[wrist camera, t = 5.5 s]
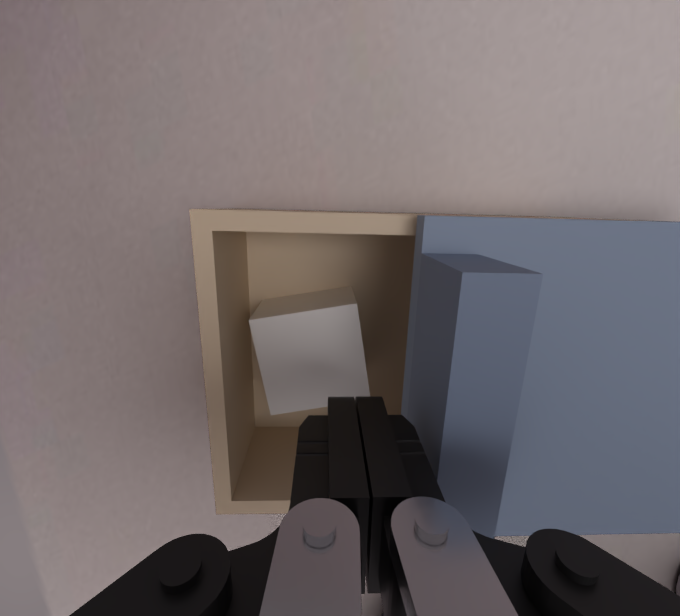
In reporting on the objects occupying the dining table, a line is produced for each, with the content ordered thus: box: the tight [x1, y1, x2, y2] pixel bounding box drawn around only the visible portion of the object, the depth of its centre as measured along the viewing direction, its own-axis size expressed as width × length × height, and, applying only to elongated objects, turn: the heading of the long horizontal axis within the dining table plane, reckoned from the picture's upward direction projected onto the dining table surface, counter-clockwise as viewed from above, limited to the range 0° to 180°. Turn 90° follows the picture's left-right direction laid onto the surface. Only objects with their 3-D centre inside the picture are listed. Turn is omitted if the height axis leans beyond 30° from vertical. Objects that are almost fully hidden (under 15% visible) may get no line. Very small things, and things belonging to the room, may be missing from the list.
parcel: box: [249, 286, 370, 415], centre depth 15 cm, size 4×4×3 cm
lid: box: [401, 215, 680, 539], centre depth 10 cm, size 14×11×4 cm
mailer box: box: [189, 209, 640, 514], centre depth 14 cm, size 14×11×5 cm
